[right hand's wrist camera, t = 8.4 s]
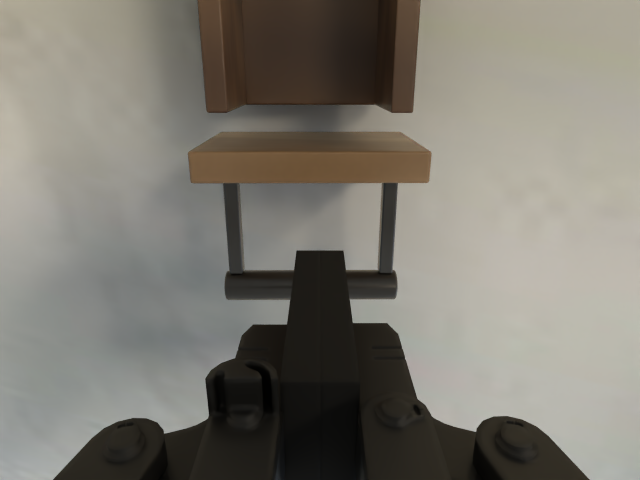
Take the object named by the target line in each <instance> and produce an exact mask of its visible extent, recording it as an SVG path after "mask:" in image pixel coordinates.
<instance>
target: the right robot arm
mask: <svg viewBox="0 0 640 480" xmlns="http://www.w3.org/2000/svg"><path fill="white" fill-rule="evenodd" d="M205 380H206V389H207V399H208V408H209V417H208V419H207V420H205V421H203V422H202V423H200V424H198V425H196V426H193V427H189V428H186V429H183V430H179V431H175V432H170V433H166V434H164V431H163V429H162V428H161V427H160V425H159V424H158V423H157V422H154V421H152V420H149V419H145V418H132V419H127V420H123V421H119V422H116V423H114V424H112V425H110V426H108V427H106V428H104V429H103V430H102V431H100V432H99V433H98V434H97V435H95V436H94V437H93V438H92V439H91V440H90V441H89V442H88V443H87V444H86V445H85V446H84V447H83V448H82V449H81V450H80V452H79V453H78V454H77V455H76V456H75V457H74V458H73V459H72V460H71V461H70V462H69V463H68V464H67V465H66V466H65V468H64V469H63V470H62V471H61V472H60V473H59V474H58V475H57V476H56V477H55V478H54V479H53V480H589V479H588V478H587V477H586V476H585V474H584V473H583V472H582V471H581V470H580V469H579V468H578V467H577V466H576V465H575V464H574V463H573V462H572V461H571V460H570V459H569V458H568V456H567V455H566V454H565V453H564V452H563V451H562V450H561V449H560V448H559V447H558V446H557V445H556V444H555V443H554V442H553V441H552V440H551V438H550V437H549V436H547V435H546V434H545V433H544V432H543V431H541V430H540V429H539V428H538V427H536V426H534V425H532V424H530V423H528V422H526V421H524V420H521V419H517V418H513V417H508V416H499V417H491V418H489V419H486V420H484V421H482V423H481V424H480V425H479V426H478V428H477V431H476V432H473V431H469V430H465V429H461V428H457V427H453V426H450V425H447V424H444V423H442V422H440V421H438V420H436V419H434V418H433V417H432V416H431V414H430V412H429V411H428V409H427V407H426V406H425V405H424V404H423V403H422V402H420V401H419V400H418V399H417V396H416V393H415V390H414V386H413V383H412V380H411V376H410V373H409V369H408V366H407V363H406V360H405V356H404V352H403V349H402V346H401V342H400V339H399V336H398V334H397V333H396V332H395V331H394V330H393V329H392V328H391V327H390V326H389V325H388V324H387V323H353V322H352V314H351V307H350V299H349V291H348V283H347V276H346V268H345V260H344V252H343V251H297V252H296V260H295V268H294V276H293V283H292V291H291V299H290V307H289V314H288V322H287V325H252V326H251V327H250V328H249V329H248V330H247V331H246V332H245V333H244V334H243V335H242V337H241V341H240V344H239V348H238V351H237V354H236V358H235V359H232V360H229V361H226V362H223V363H221V364H219V365H218V366H216V367H215V368H214V369H212V370H211V371H210V373H209V374H208V376H207V377H206V379H205Z"/></svg>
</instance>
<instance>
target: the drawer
mask: <svg viewBox="0 0 640 480" xmlns="http://www.w3.org/2000/svg"><path fill="white" fill-rule="evenodd" d="M198 12H199V24H200V37H201V49H202V62H203V74H204V86H205V99H206V110H207V112H209V113H227V112H229V111H231V110H234V109H236V108H239V107H241V106H243V105H377V106H379V107H381V108H383V109H385V110H388V111H390V112H392V113H412V112H413V102H414V88H415V73H416V59H417V44H418V29H419V15H420V0H198ZM188 159H189V170H190V180H191V183H223V188H224V201H225V215H226V229H227V243H228V256H229V270H230V271H227V273H226V276H225V295H226V298H227V299H228V300H290V299H291V291H292V283H293V276H294V270H244V251H243V235H242V218H241V201H240V185H239V183H382V190H381V211H380V231H379V252H378V270H346V276H347V283H348V291H349V299H395V298H396V295H397V276H396V272H395V270H393V253H394V237H395V220H396V204H397V187H398V183H428V182H429V177H430V165H431V152H430V151H429V150H427V149H426V148H424V147H423V146H421V145H420V144H418V143H417V142H415V141H414V140H412V139H410V138H409V137H407V136H406V135H404V134H403V133H401V132H221V133H219V134H217V135H216V136H214V137H212V138H211V139H209V140H207V141H206V142H204V143H202V144H201V145H199V146H198V147H196V148H194V149H193V150H191V151H189V152H188Z"/></svg>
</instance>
